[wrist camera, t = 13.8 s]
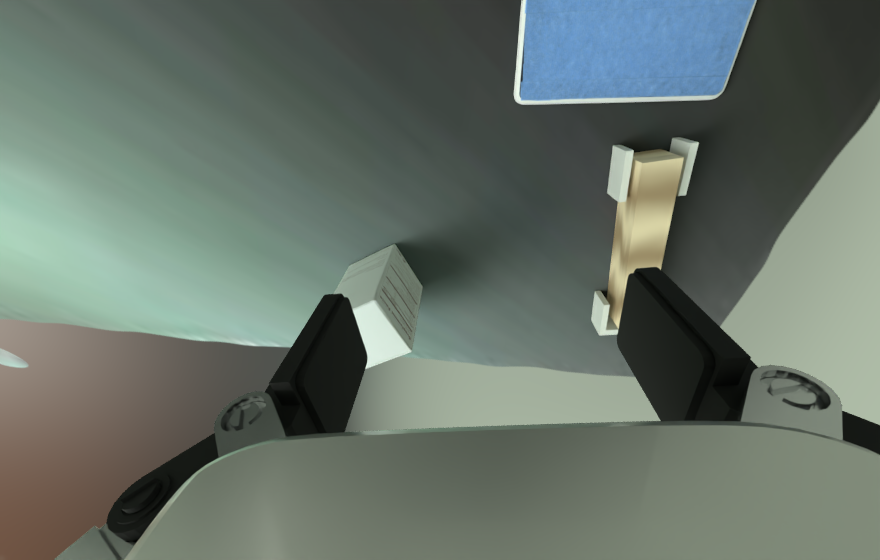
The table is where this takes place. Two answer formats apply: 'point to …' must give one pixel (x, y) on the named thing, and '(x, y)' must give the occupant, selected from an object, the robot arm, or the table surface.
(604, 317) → the end cap
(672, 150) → the end cap
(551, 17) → the tablet computer
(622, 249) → the slat
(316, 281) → the table surface
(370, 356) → the supplement box
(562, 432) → the robot arm
